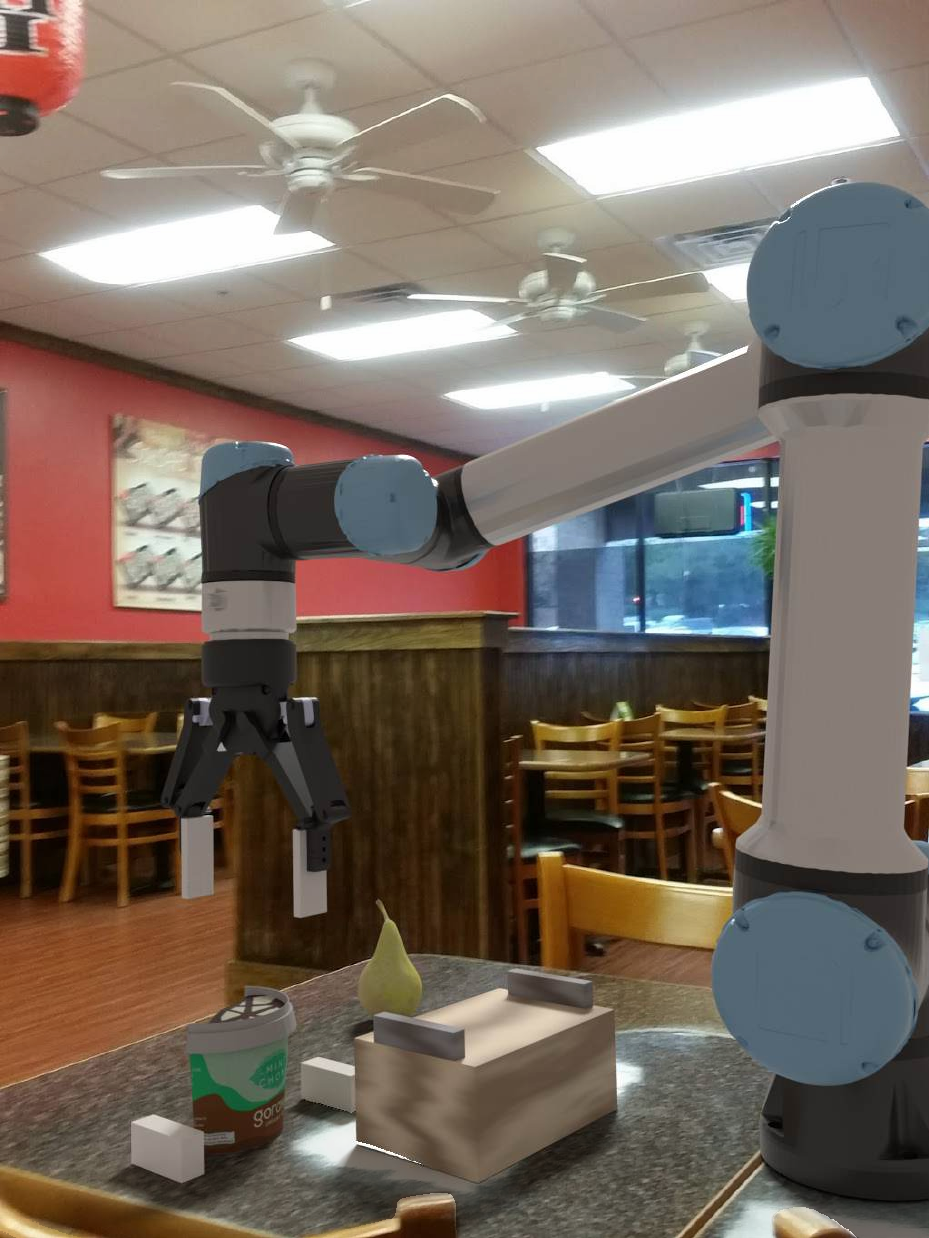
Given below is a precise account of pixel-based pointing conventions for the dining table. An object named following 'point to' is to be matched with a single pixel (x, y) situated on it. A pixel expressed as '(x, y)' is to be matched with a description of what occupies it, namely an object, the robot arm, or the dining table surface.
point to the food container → (241, 1071)
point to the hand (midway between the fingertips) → (251, 905)
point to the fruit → (389, 976)
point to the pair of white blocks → (183, 1147)
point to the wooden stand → (487, 1075)
